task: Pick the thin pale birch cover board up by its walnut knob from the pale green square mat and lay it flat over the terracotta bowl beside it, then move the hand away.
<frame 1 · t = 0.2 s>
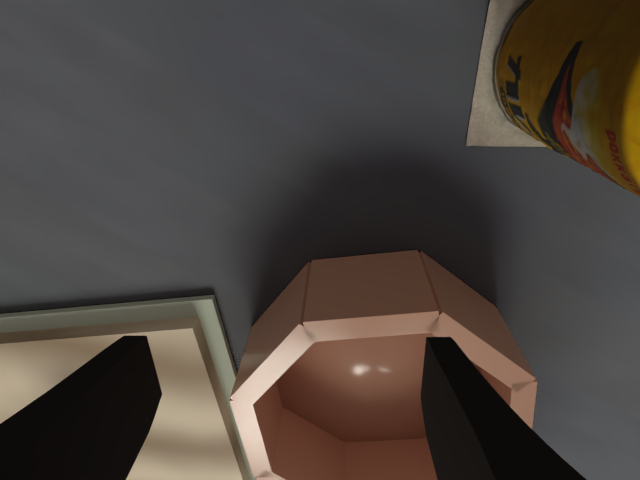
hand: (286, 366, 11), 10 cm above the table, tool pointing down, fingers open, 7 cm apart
condiment: (576, 36, 16), on the table
cover board: (109, 429, 27), resting on pale green square mat
pale green square mat: (113, 424, 27), on the table
bowl: (374, 357, 23), on the table
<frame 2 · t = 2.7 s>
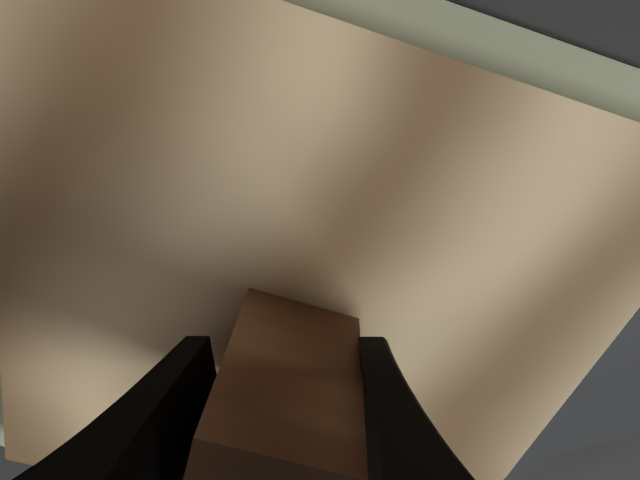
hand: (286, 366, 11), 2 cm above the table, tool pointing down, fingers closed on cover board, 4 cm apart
cover board: (293, 323, 13), resting on pale green square mat, touching gripper
pale green square mat: (295, 315, 13), on the table
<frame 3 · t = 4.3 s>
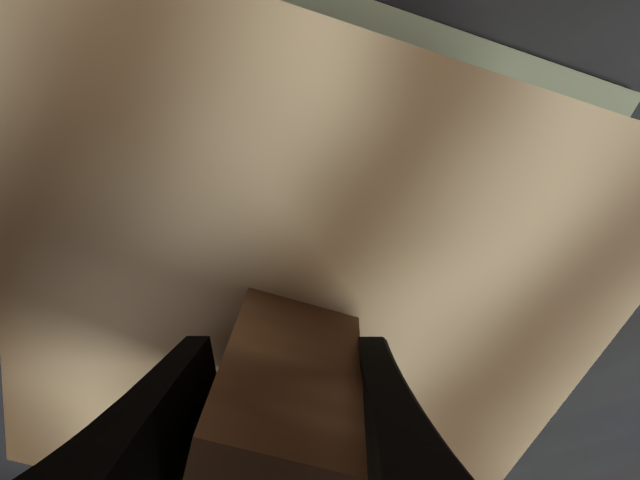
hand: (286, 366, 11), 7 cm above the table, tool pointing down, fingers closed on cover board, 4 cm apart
cover board: (293, 323, 13), point 5 cm above the table, touching gripper
pale green square mat: (306, 245, 17), on the table
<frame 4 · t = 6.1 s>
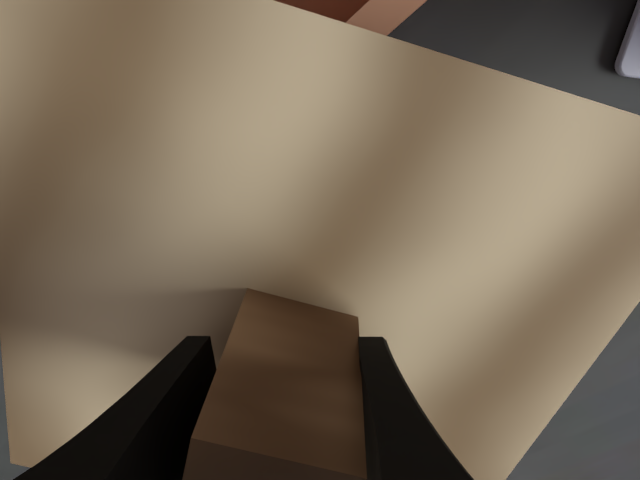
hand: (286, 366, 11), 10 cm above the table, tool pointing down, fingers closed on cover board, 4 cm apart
cover board: (293, 323, 13), point 8 cm above the table, touching gripper
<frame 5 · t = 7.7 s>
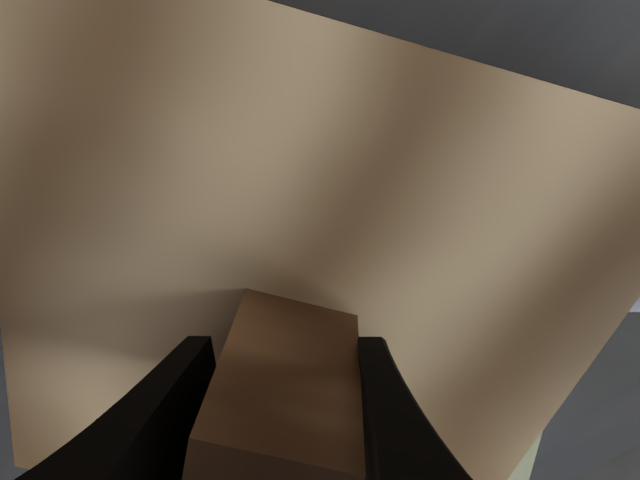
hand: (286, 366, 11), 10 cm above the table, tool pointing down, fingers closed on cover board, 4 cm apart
cover board: (293, 323, 13), point 8 cm above the table, touching gripper
pale green square mat: (385, 460, 27), on the table
when the fingers open (8 cm above the table, at t = 9.2 s): cover board drops 1 cm, resting on bowl.
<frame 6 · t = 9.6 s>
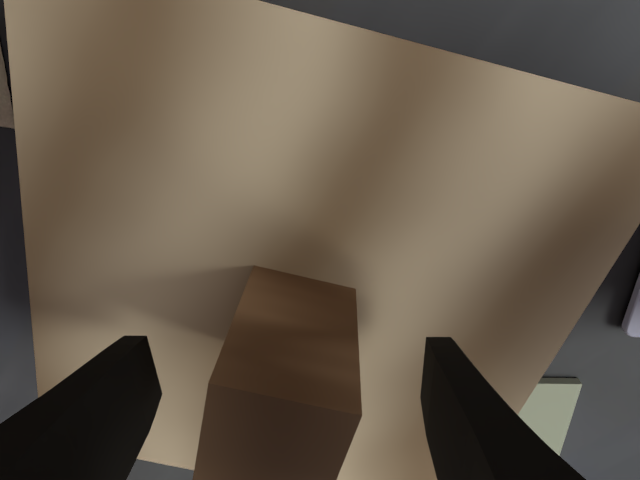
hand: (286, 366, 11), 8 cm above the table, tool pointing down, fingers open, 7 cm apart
cover board: (297, 299, 14), point 5 cm above the table, touching bowl
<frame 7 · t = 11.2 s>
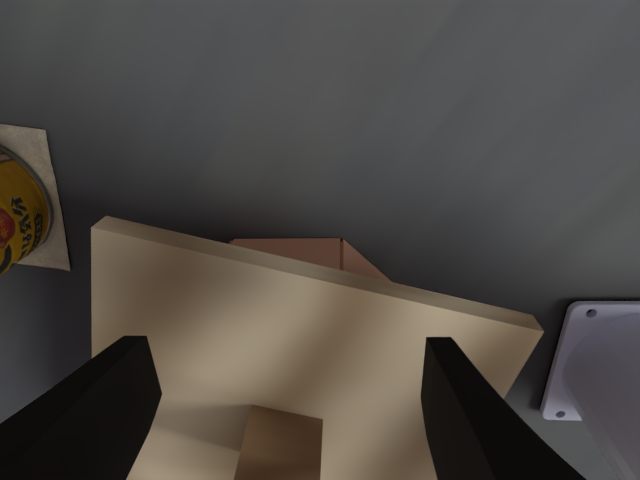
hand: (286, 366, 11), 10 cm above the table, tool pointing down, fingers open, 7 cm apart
cover board: (283, 416, 19), point 5 cm above the table, touching bowl
bowl: (294, 343, 23), on the table, touching cover board
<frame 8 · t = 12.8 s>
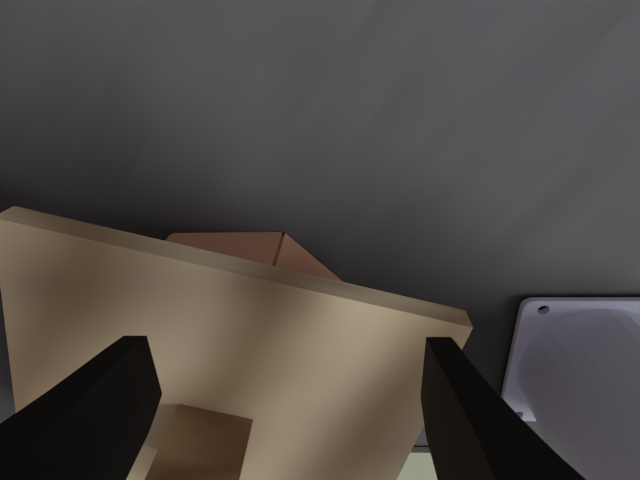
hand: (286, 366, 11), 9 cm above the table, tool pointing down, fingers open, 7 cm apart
cover board: (218, 416, 18), point 5 cm above the table, touching bowl
bowl: (242, 341, 23), on the table, touching cover board
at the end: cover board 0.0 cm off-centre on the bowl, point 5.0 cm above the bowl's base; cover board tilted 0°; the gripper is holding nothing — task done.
